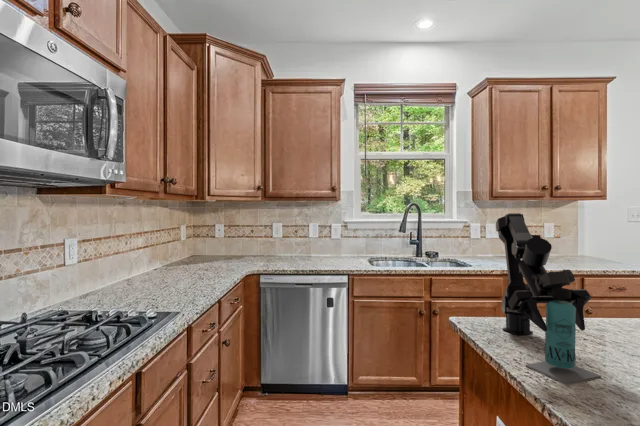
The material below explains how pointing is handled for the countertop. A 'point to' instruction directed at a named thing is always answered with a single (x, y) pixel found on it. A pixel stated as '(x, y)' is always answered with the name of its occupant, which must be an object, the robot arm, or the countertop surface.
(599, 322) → the countertop surface
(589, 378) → the mat
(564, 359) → the beverage bottle
